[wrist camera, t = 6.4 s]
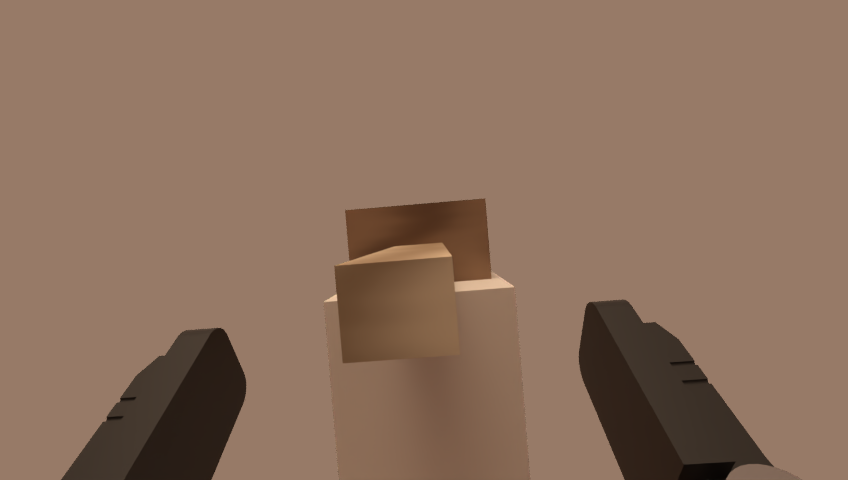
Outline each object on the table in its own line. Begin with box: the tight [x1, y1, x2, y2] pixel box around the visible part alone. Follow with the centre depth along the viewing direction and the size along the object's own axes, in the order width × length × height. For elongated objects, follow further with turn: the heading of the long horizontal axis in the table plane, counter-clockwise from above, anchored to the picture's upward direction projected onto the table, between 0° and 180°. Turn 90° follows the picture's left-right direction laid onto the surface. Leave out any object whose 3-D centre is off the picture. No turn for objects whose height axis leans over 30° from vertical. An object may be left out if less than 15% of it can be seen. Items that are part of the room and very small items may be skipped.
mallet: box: [334, 199, 492, 363], centre depth 18 cm, size 7×18×4 cm, turn 179°
